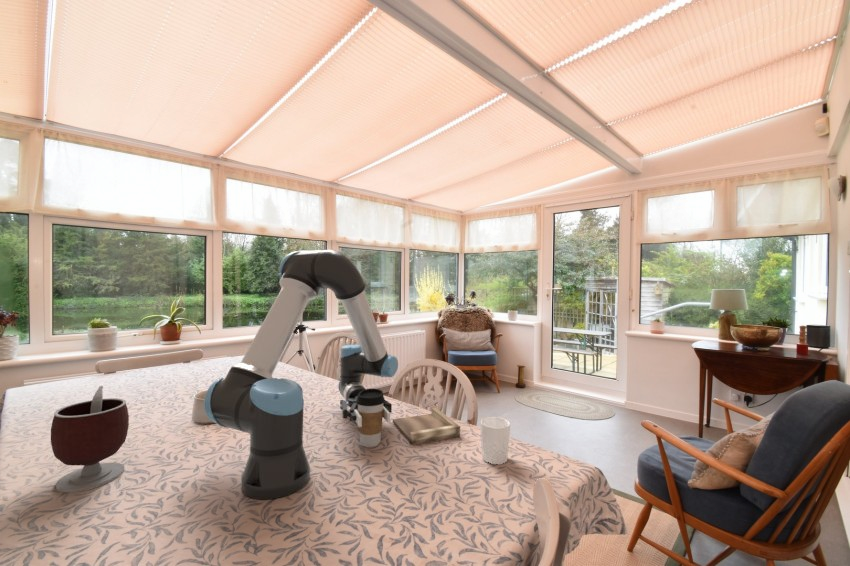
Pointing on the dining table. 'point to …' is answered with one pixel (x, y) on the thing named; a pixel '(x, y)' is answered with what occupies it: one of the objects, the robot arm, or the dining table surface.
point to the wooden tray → (427, 427)
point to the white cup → (495, 439)
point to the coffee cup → (370, 416)
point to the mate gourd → (89, 441)
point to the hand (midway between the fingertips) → (374, 420)
